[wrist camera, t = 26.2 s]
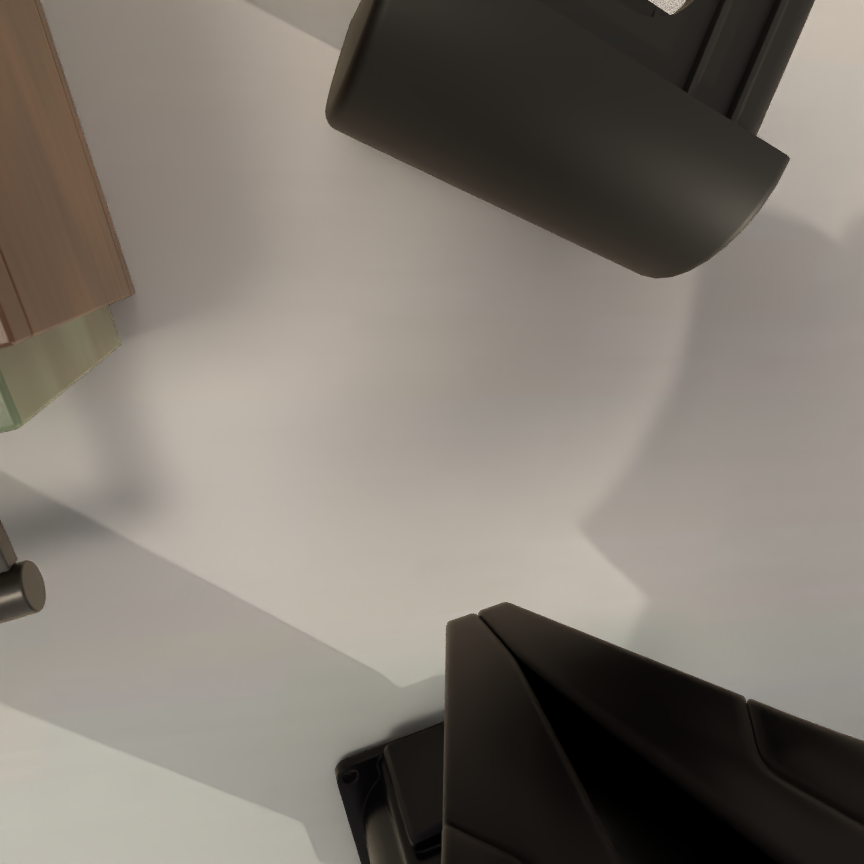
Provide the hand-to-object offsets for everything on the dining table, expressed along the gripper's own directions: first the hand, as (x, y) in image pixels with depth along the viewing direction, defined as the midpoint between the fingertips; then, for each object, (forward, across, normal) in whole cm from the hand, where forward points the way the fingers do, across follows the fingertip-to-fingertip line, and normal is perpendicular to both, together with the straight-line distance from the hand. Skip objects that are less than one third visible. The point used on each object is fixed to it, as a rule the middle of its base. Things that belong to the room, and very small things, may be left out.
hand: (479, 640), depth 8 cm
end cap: (+13, -7, -8) cm, 17 cm away
